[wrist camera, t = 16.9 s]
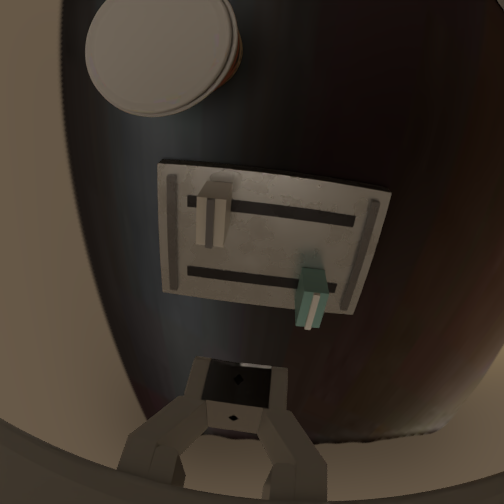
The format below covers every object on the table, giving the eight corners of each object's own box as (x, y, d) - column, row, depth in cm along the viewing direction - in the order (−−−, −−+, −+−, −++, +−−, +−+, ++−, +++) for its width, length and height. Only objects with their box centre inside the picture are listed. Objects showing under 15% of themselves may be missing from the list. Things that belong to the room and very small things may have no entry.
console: (386, 187, 30) (393, 195, 28) (350, 305, 37) (353, 318, 36) (162, 158, 30) (155, 165, 28) (166, 283, 38) (161, 295, 36)
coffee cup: (200, 121, 28) (154, 151, 18) (131, 59, 25) (56, 60, 15) (274, 51, 24) (273, 33, 14) (200, -13, 21) (154, -57, 11)
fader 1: (232, 183, 29) (225, 201, 25) (229, 226, 31) (222, 249, 28) (206, 180, 29) (195, 198, 25) (204, 223, 31) (194, 246, 28)
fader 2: (324, 270, 33) (329, 296, 29) (315, 302, 35) (319, 330, 32) (301, 267, 33) (304, 294, 29) (294, 300, 35) (295, 328, 32)
